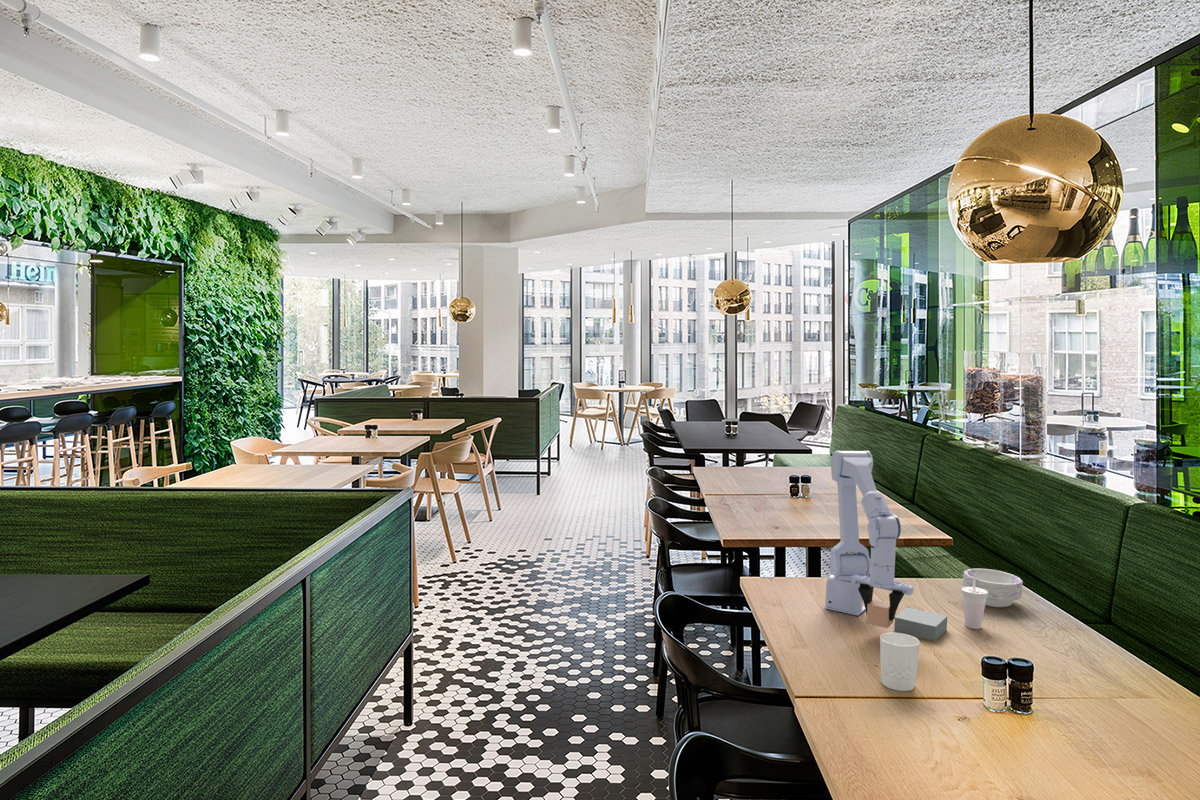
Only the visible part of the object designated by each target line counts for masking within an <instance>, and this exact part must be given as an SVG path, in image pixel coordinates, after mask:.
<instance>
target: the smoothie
mask: <svg viewBox="0 0 1200 800" xmlns="http://www.w3.org/2000/svg"><path fill="white" fill-rule="evenodd" d="M975 581H976V573H973V587H963V586H962V587H961V590H960V593H961V594H962V604H963V617H964V626H965V627H966V628H968V629H973V630H979V629H981V628H982V623H983V619H984V618H983V617H984V613H985V608H986V606H985V603H986V598H987V597H988V591H986V590H984V589H982V588H977V587H975Z"/></svg>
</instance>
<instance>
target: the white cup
mask: <svg viewBox="0 0 1200 800" xmlns="http://www.w3.org/2000/svg"><path fill="white" fill-rule="evenodd" d="M920 642H921V641H920V640H919V638H918V637H916V636H912V635H908V634H904V633H900V632H885V633H882V634H880V635H879V646H880V647H879V650H880V652H879V657H880V658H879V660H880V661H879V662H880V665H879V666H880V682H881V684H882V686H884V687H886V688H887V689H890V690H893V691H899V692H910V691H913V690H914V689H915V688H916V680H917V679H916V678H917V672H918V666H919V665H918V664H919V653H920Z"/></svg>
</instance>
